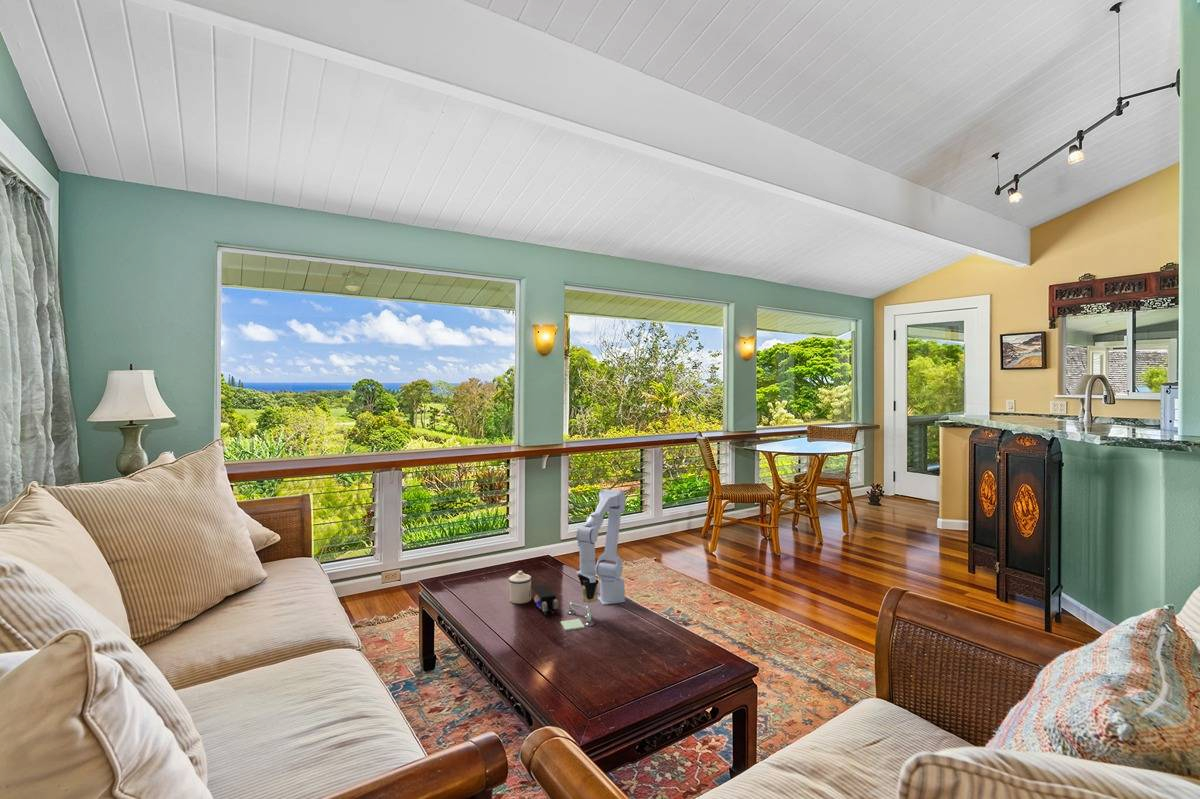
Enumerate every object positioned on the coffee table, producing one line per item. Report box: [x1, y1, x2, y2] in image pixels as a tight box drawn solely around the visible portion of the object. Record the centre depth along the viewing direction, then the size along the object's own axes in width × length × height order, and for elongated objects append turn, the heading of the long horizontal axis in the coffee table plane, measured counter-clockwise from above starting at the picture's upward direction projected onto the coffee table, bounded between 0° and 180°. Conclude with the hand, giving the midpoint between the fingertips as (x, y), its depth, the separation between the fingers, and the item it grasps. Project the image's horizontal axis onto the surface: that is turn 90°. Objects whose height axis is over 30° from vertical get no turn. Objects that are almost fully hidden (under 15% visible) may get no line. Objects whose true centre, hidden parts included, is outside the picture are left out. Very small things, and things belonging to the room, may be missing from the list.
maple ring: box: [581, 585, 599, 604], centre depth 203 cm, size 6×6×5 cm
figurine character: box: [531, 584, 559, 616], centre depth 213 cm, size 7×8×15 cm
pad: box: [560, 618, 585, 632], centre depth 198 cm, size 7×7×1 cm
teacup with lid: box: [508, 570, 532, 605], centre depth 224 cm, size 12×9×12 cm
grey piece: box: [566, 602, 595, 627], centre depth 204 cm, size 8×15×4 cm, turn 17°
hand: (587, 595), depth 203 cm, fingers closed on maple ring, 5 cm apart
